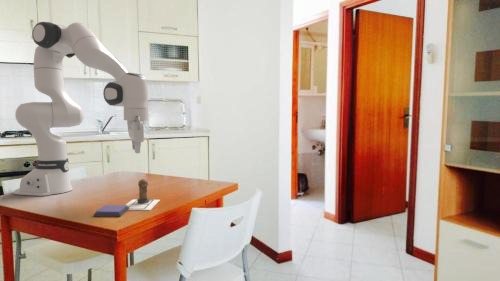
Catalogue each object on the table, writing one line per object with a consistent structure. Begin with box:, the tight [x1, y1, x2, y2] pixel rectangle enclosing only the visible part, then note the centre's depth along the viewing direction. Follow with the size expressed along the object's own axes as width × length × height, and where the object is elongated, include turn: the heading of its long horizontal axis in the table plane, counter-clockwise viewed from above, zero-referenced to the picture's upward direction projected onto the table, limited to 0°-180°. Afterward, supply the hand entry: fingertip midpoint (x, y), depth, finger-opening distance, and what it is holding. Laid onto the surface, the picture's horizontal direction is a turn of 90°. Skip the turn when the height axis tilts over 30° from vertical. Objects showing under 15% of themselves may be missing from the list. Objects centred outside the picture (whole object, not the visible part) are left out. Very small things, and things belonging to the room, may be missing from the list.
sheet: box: [125, 198, 161, 211], centre depth 134 cm, size 11×14×1 cm
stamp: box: [137, 178, 150, 204], centre depth 137 cm, size 4×4×9 cm
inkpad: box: [93, 204, 129, 218], centre depth 124 cm, size 9×9×2 cm
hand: (136, 151), depth 138 cm, fingers open, 8 cm apart
